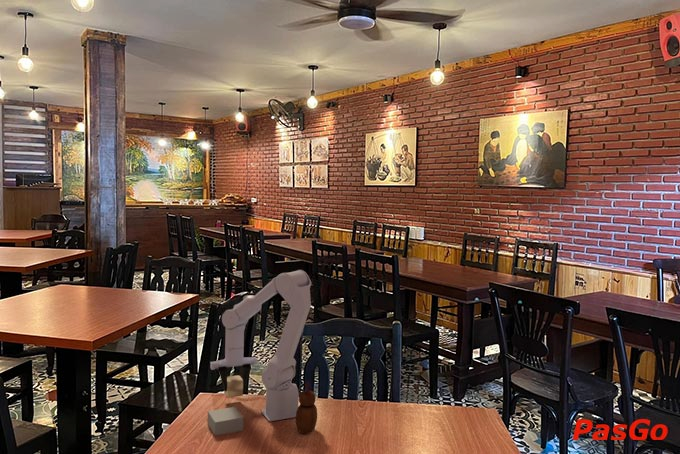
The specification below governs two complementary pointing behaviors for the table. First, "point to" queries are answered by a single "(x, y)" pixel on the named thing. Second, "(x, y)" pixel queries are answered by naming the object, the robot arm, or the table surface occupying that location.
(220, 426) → the slate base block
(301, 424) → the wooden figurine
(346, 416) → the table surface
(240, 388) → the maple cube
